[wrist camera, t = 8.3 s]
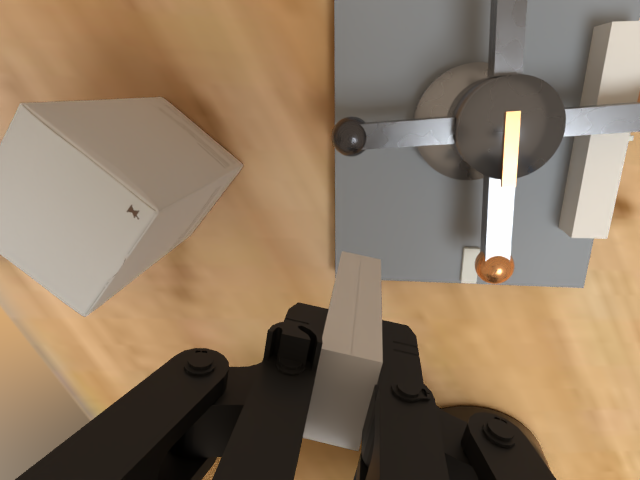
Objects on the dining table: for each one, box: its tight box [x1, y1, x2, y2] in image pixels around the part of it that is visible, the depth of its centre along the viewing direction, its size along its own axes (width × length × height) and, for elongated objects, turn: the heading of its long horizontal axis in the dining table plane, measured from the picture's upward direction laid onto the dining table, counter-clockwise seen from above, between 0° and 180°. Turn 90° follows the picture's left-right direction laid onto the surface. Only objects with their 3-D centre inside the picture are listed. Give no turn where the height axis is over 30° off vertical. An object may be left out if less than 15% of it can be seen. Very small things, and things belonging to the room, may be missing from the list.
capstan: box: [332, 0, 640, 284], centre depth 28 cm, size 22×22×6 cm
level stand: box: [334, 0, 640, 288], centre depth 31 cm, size 24×21×4 cm
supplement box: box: [0, 97, 243, 317], centre depth 30 cm, size 9×9×15 cm
